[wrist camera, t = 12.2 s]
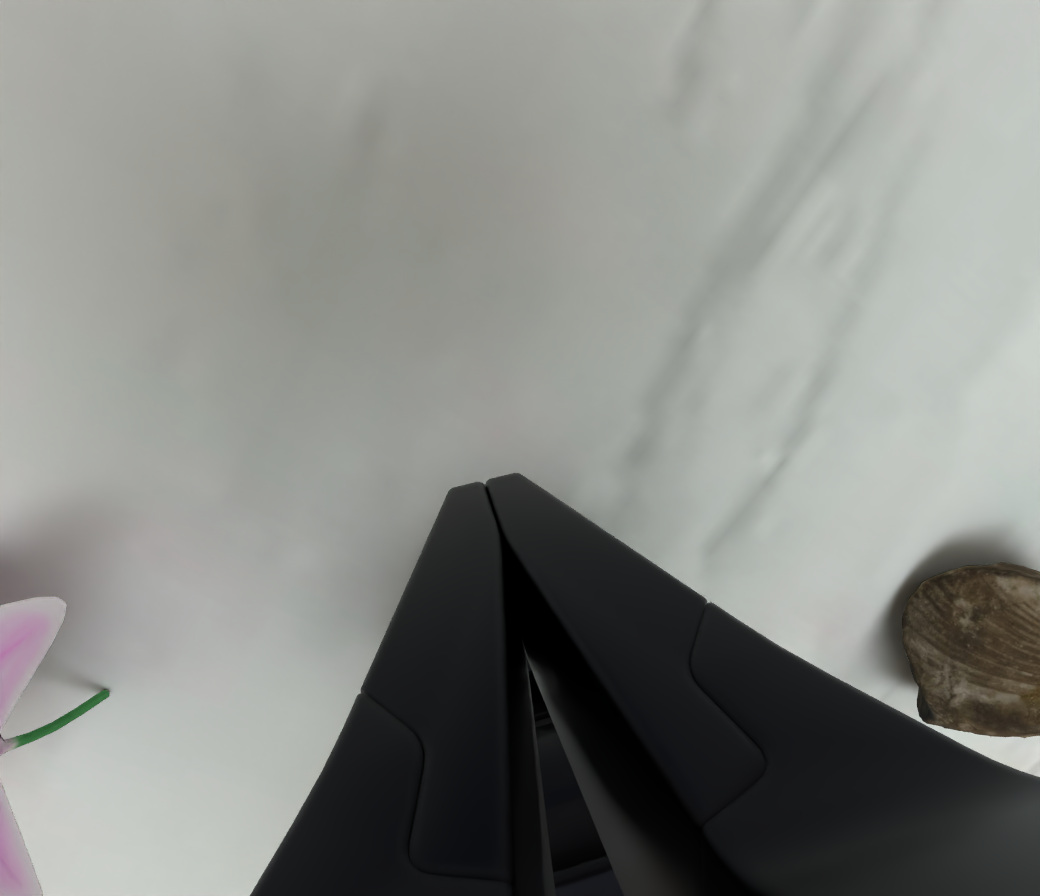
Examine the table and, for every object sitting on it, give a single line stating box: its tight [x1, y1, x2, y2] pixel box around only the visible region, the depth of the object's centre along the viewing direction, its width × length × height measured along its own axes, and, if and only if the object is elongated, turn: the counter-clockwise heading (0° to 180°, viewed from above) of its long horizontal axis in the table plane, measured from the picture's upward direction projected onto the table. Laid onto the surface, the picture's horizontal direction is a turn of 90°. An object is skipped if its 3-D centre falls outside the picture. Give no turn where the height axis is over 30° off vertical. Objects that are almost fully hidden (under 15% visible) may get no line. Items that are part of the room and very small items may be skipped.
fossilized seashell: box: [902, 563, 1040, 738], centre depth 31 cm, size 8×7×10 cm
